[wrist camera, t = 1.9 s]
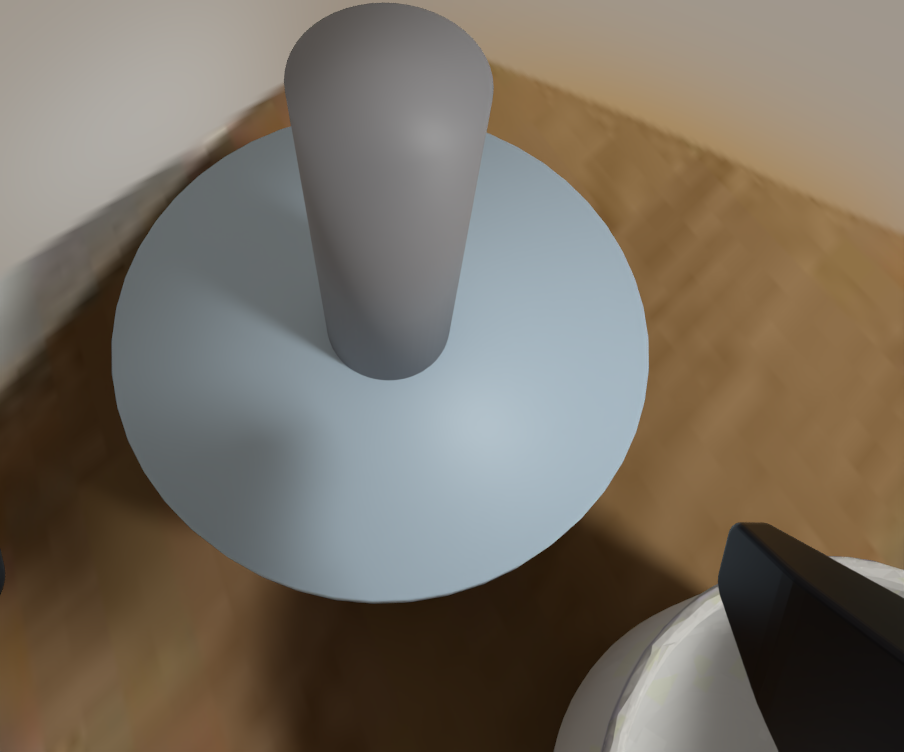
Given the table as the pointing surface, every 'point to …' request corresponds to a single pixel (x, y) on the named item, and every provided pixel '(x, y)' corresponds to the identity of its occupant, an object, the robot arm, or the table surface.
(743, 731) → the teacup
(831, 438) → the table surface
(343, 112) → the lid
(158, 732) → the table surface
